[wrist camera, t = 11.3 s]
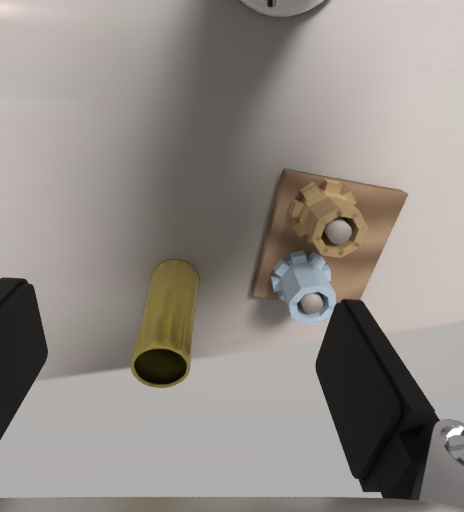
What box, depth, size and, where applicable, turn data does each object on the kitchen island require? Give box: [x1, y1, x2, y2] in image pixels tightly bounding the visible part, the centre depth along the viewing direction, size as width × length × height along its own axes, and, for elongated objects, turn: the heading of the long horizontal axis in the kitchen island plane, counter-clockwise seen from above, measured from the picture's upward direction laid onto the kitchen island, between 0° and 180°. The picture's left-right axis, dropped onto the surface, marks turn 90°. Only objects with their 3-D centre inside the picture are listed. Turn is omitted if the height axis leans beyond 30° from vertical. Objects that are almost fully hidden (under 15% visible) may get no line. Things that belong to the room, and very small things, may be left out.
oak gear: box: [289, 179, 368, 258], centre depth 33 cm, size 7×7×6 cm
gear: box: [271, 250, 336, 325], centre depth 37 cm, size 7×7×6 cm
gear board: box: [252, 169, 408, 314], centre depth 36 cm, size 16×14×8 cm
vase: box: [130, 260, 200, 388], centre depth 35 cm, size 6×6×14 cm
